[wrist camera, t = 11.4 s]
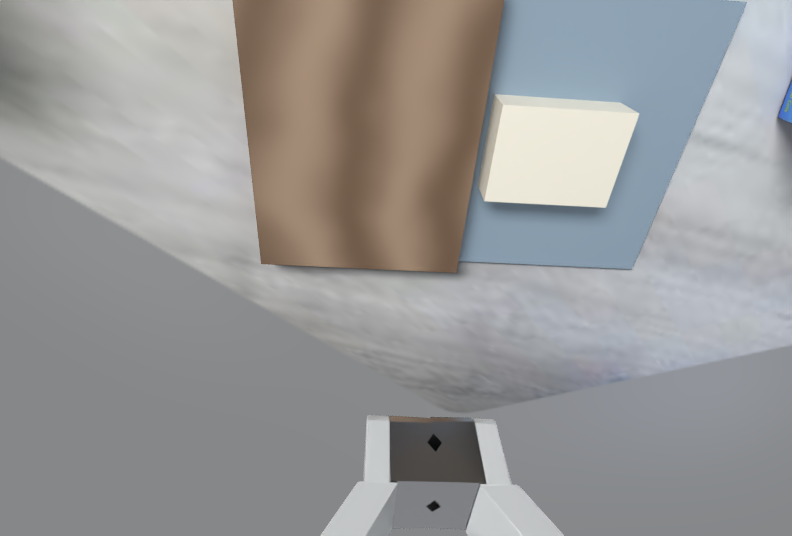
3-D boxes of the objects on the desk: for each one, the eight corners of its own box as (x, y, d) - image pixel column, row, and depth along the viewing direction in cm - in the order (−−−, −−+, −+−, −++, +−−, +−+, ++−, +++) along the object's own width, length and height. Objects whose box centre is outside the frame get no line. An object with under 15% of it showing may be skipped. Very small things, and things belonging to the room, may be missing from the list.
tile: (620, 102, 28) (639, 113, 26) (591, 191, 32) (606, 207, 30) (494, 94, 28) (503, 104, 26) (477, 185, 31) (484, 201, 29)
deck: (499, -20, 25) (507, -18, 23) (452, 258, 35) (456, 272, 33) (238, -42, 24) (228, -42, 22) (267, 249, 34) (261, 263, 32)
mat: (742, 1, 26) (746, 2, 26) (629, 266, 36) (631, 269, 35) (499, -20, 25) (500, -19, 25) (452, 258, 35) (453, 260, 35)
